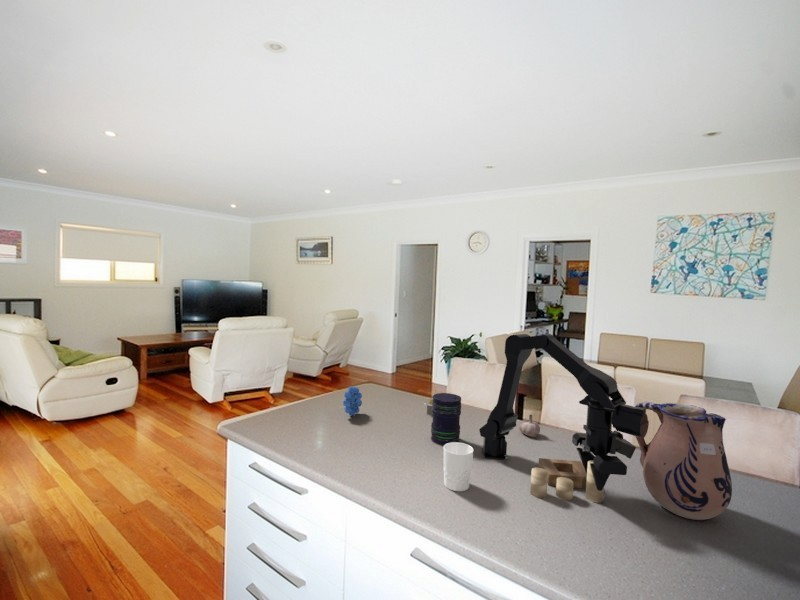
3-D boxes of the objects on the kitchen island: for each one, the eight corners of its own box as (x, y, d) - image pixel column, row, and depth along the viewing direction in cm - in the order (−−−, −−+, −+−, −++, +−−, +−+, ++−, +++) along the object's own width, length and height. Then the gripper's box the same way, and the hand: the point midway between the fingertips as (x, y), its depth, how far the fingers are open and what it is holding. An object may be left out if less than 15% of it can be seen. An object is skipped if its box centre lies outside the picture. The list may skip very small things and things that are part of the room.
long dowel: (589, 502, 98) (591, 467, 98) (583, 493, 102) (585, 459, 102) (605, 503, 98) (608, 468, 98) (598, 494, 102) (601, 461, 101)
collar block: (548, 485, 106) (549, 474, 106) (538, 468, 116) (538, 458, 116) (594, 488, 105) (594, 478, 105) (579, 471, 115) (580, 461, 115)
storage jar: (426, 442, 131) (428, 398, 130) (435, 432, 140) (437, 391, 140) (455, 448, 127) (458, 403, 127) (462, 437, 136) (464, 395, 136)
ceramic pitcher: (736, 542, 85) (745, 428, 84) (624, 509, 96) (631, 408, 95) (722, 505, 99) (730, 408, 98) (626, 480, 111) (632, 393, 110)
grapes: (352, 422, 147) (354, 390, 146) (338, 418, 150) (339, 388, 149) (369, 413, 157) (370, 384, 157) (355, 410, 160) (356, 381, 160)
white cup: (453, 495, 98) (455, 456, 98) (436, 481, 105) (437, 444, 105) (477, 489, 102) (479, 451, 102) (459, 475, 109) (461, 440, 109)
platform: (424, 408, 169) (425, 393, 168) (462, 417, 159) (463, 401, 158) (409, 415, 159) (410, 399, 158) (449, 426, 149) (450, 409, 148)
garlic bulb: (537, 440, 137) (538, 418, 137) (516, 435, 141) (517, 413, 141) (541, 433, 144) (542, 412, 143) (521, 429, 147) (522, 408, 147)
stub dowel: (558, 499, 99) (559, 484, 99) (553, 491, 103) (554, 476, 103) (574, 501, 98) (575, 485, 98) (569, 492, 102) (570, 477, 102)
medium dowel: (532, 497, 99) (533, 474, 99) (528, 489, 103) (529, 467, 103) (548, 498, 99) (549, 475, 99) (544, 490, 103) (545, 468, 103)
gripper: (652, 442, 89) (648, 508, 90) (614, 415, 108) (610, 470, 109) (602, 438, 90) (598, 504, 91) (573, 412, 109) (569, 467, 109)
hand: (594, 484), depth 100 cm, fingers open, 5 cm apart
